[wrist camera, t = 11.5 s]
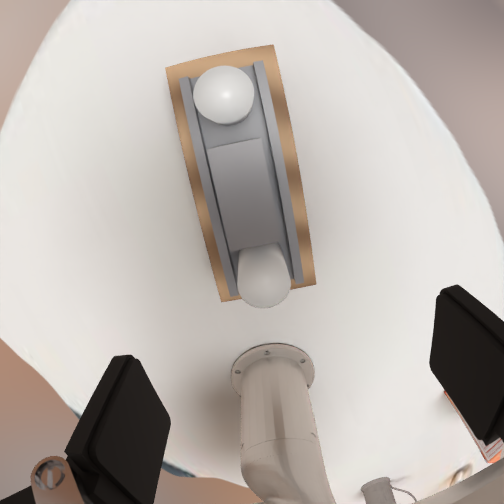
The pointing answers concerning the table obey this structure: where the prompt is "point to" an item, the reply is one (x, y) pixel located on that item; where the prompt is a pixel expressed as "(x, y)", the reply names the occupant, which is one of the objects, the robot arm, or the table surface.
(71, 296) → the table surface
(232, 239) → the grey elongated piece
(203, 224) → the curved wooden channel
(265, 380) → the robot arm
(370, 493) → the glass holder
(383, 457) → the table surface
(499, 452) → the cracker box
